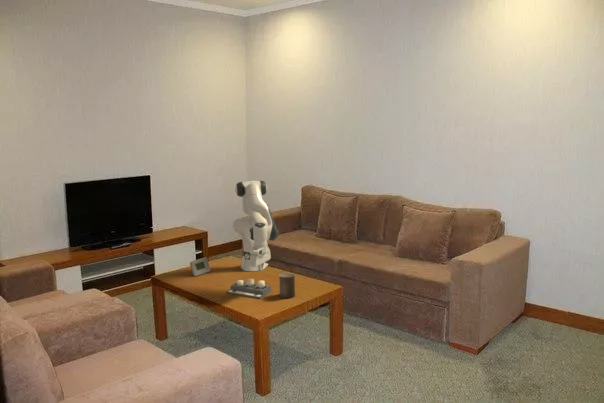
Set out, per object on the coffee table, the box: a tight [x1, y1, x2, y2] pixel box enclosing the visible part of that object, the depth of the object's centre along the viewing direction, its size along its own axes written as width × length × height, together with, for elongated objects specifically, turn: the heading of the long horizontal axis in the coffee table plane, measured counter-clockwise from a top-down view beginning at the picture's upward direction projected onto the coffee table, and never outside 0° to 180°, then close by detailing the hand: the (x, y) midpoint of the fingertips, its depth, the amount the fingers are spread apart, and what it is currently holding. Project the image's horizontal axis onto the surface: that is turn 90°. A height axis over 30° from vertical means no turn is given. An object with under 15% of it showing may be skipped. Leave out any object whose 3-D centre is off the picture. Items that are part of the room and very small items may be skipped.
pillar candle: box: [278, 272, 296, 299], centre depth 307 cm, size 10×10×15 cm
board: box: [226, 281, 273, 300], centre depth 314 cm, size 15×25×4 cm, turn 65°
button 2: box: [246, 278, 255, 287], centre depth 315 cm, size 4×4×4 cm
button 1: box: [236, 279, 244, 286], centre depth 318 cm, size 4×4×4 cm
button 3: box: [257, 279, 266, 289], centre depth 311 cm, size 4×4×4 cm
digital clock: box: [189, 256, 211, 277], centre depth 353 cm, size 16×9×11 cm, turn 133°
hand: (261, 269), depth 309 cm, fingers closed
